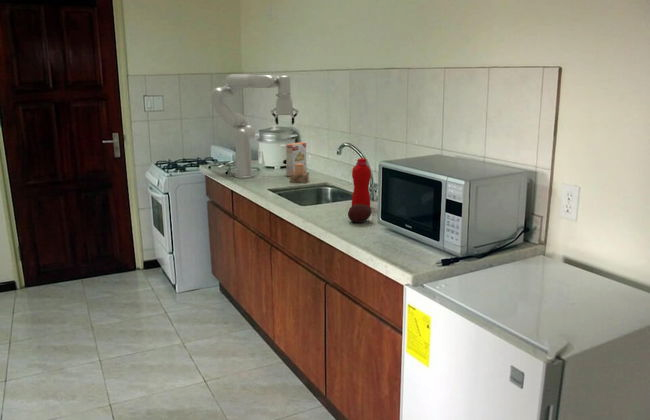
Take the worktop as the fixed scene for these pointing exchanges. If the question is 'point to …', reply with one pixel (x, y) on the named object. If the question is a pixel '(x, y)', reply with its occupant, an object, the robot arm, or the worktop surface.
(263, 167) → the worktop surface
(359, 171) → the water bottle
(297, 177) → the walnut base
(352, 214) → the potato
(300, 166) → the terracotta block
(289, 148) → the cracker box
